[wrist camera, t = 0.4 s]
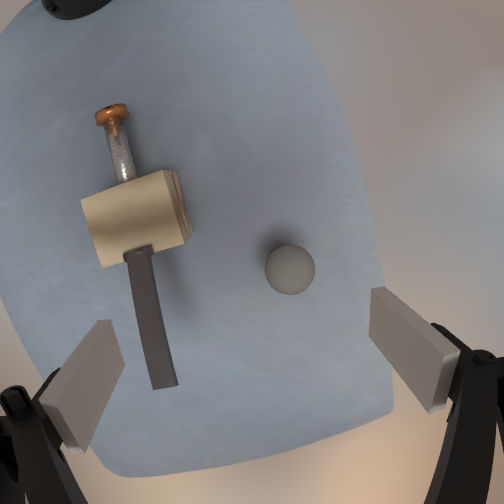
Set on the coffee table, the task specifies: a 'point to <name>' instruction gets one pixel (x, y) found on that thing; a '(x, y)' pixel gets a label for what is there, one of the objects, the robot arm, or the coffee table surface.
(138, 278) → the bar
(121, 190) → the block
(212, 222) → the coffee table surface
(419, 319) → the robot arm
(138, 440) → the coffee table surface
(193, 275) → the coffee table surface
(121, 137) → the pin
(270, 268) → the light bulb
